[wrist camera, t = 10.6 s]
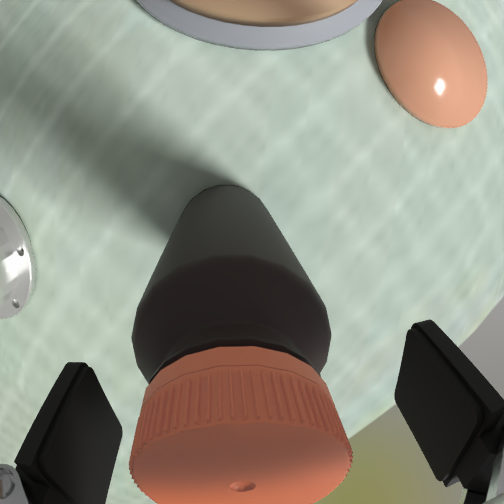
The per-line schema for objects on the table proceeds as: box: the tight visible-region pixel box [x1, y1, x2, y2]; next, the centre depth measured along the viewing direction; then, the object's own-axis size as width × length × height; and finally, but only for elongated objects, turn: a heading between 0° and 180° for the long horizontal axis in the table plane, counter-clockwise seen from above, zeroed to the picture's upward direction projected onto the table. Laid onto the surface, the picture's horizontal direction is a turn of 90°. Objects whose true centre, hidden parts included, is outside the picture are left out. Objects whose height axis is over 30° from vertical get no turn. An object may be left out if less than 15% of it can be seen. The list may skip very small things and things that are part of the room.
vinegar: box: [129, 185, 353, 504], centre depth 15 cm, size 7×7×20 cm
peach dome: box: [374, 0, 487, 128], centre depth 20 cm, size 12×12×1 cm
